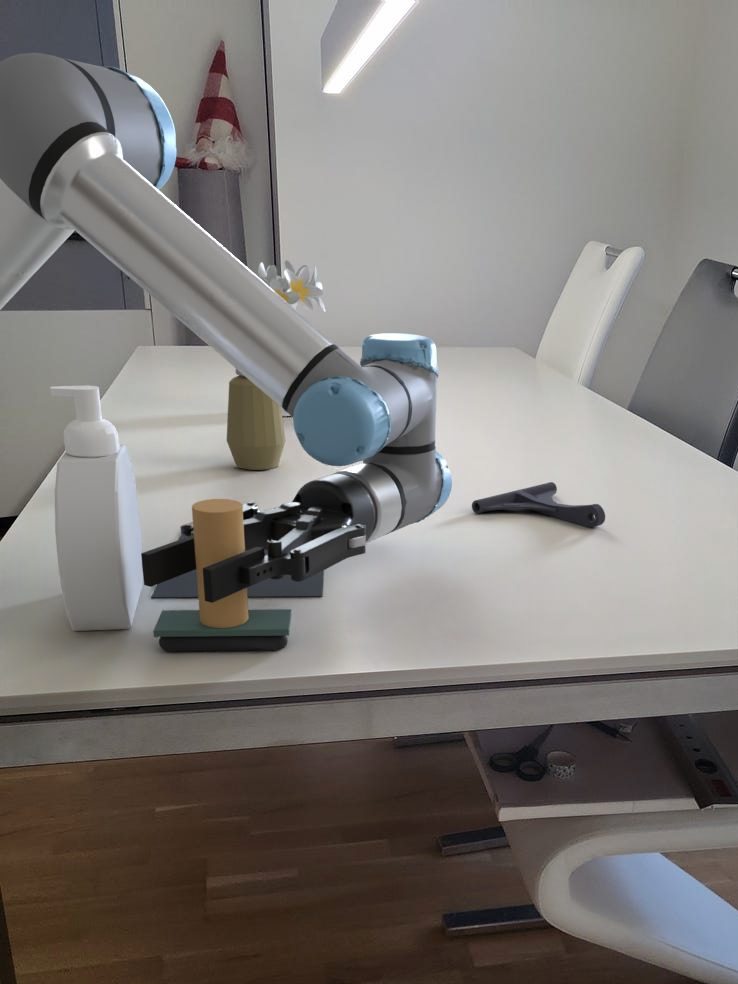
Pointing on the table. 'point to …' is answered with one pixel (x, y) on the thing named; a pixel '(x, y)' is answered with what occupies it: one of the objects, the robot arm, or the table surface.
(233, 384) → the squeeze bottle
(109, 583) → the soap bottle
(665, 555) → the table surface
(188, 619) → the wiper
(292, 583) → the wipe mat
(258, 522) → the robot arm
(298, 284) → the flower vase
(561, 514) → the bracket
